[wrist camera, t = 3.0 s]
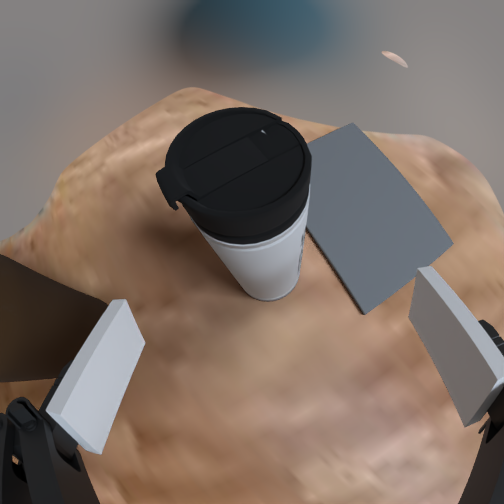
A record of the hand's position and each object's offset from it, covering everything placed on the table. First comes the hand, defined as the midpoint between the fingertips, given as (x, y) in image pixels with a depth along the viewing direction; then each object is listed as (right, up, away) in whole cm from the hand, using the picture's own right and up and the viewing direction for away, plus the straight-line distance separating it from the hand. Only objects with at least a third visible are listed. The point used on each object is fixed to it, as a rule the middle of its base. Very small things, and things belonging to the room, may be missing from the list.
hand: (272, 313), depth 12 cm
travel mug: (+1, 0, +18) cm, 18 cm away
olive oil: (-20, -7, +18) cm, 28 cm away
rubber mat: (+11, +8, +19) cm, 23 cm away
